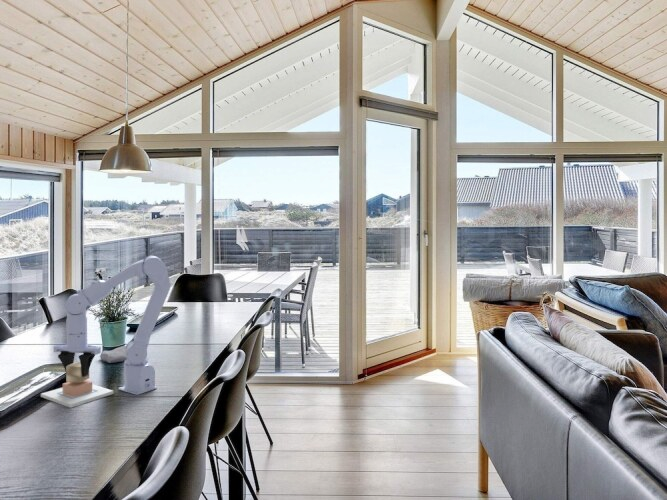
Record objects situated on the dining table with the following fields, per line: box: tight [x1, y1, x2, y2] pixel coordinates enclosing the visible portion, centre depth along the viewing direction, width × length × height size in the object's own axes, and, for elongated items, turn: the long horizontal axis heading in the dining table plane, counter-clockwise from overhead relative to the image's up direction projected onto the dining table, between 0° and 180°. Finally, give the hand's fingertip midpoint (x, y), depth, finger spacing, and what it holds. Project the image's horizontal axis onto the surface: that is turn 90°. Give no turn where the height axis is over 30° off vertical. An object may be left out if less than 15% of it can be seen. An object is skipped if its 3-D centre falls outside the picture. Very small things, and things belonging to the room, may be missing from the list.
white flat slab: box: [40, 379, 115, 408], centre depth 152 cm, size 16×14×4 cm
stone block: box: [99, 345, 127, 364], centre depth 193 cm, size 12×5×10 cm
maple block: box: [65, 361, 90, 383], centre depth 152 cm, size 5×5×5 cm
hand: (77, 375), depth 152 cm, fingers closed on maple block, 4 cm apart
